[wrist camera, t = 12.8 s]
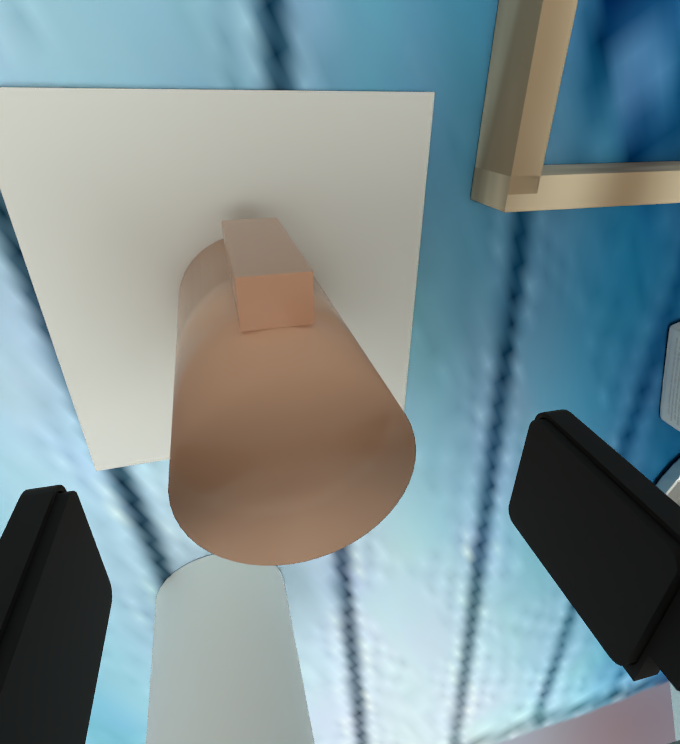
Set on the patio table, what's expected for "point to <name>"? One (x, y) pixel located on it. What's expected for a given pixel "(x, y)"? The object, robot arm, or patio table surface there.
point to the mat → (204, 224)
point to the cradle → (546, 125)
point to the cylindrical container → (225, 659)
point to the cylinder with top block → (276, 409)
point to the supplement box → (672, 380)
